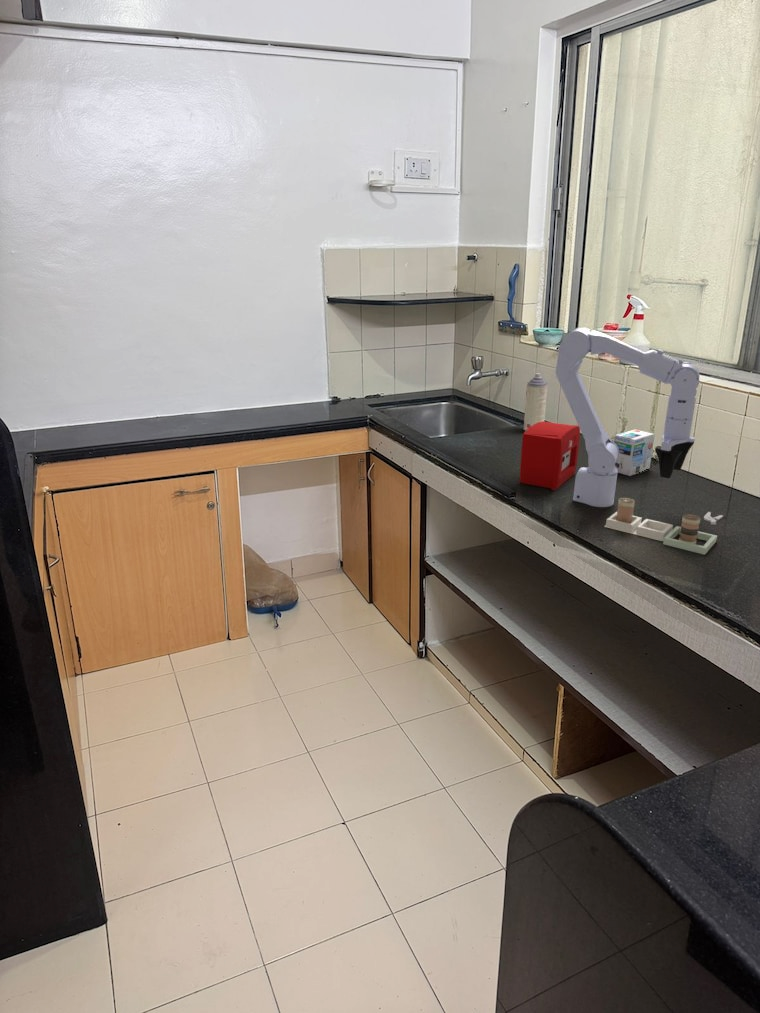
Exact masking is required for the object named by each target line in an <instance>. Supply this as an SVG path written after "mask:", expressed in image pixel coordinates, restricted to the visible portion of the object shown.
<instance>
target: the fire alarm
mask: <svg viewBox="0 0 760 1013" xmlns="http://www.w3.org/2000/svg"><path fill="white" fill-rule="evenodd" d="M523 432H524V431H523ZM523 432H522V433H523ZM580 437H581V430H580V428H579V425H578V424H574V425H572V424H566V423H565V424H563V423H559V422H557V423H556V422H551V421H549V422H548V421H544V422H538V423H536V424H534V425H532V426H531V427H530V428H528V429H527V430H526V431H525V432H524V433H523V434H522V440H521V442H522V443H521V453H520V473H519V483H521V484H525V485H532V486H537V487H542V488H549V489H551V490H553V491H556V490H558V489H559V488H560V487H561V486H562V485H563V484H564V483H566V481H568V480H569V479H570V478H571V477H573V476H574V475H575V473H576V469H577V465H578V459H579V458H578V457H579V450H580V449H579V448H580Z"/></svg>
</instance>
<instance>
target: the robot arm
mask: <svg viewBox="0 0 760 1013" xmlns="http://www.w3.org/2000/svg"><path fill="white" fill-rule="evenodd" d="M557 351H558V354H557V361H556V365H555V366H556V367H555V375H556V376H555V377H556V378H557V381H558V382H559V384H560V388H561V389H562V391H563V394H564V396H565V399H566V401H567V403H568V405H569V408H570V410H571V412H572V414H573V416H574V419H575V420H576V423H577V425H578V426H579V428H580V433H581V434H582V437H583V439H584V445H585V449H586V453H587V455H588V460H587V462H588V464H587V465H588V466H587V467H584V466H583V467H582V466H581V467H580V468H579V469H578V471H577V473H576V475H575V479H574V488H573V496H572V500H573V501H574V502H578V503H581V504H586V505H589V506H591V507H597V508H609V507H612V506H613V505H614V504H615V503H614V501H615V494H616V487H617V481H618V480H617V478H618V473H617V472H618V470H617V468H616V467H615V463H616V460H617V459H618V457H619V448H618V446H617V445H616V444H615V443H614V441H612V439H611V437H610V436H609V434H608V433H607V431H606V430H605V429H604V427H603V425H602V423H601V421H600V418H599V416H598V413H597V411H596V408H595V407H594V405H593V402H592V400H591V398H590V395H589V393H588V391H587V389H586V386H585V384H584V382H583V379H582V377H581V375H580V373H579V369H580V367H581V366H582V364H583V361H584V358H585V357H586V356H587V354H589V352H590V355H591V356H592V355H597V354H598V355H599V354H607V355H610V356H612V357H616V358H617V359H620V360H623V361H626V362H628V363H630V364H634V365H636V366H637V367H638V370H639V373H640V374H643V375H645V376H647V377H650V378H651V379H653V380H656V381H659V382H661V383H664V385H667V384H669V385H670V386H671V391H670V395H669V397H668V402H667V408H666V415H665V422H664V429H663V433H662V435H661V445H656V446H655V448H654V452H655V454H656V456H657V460H658V464H659V465H658V467H659V475H660V477H661V478H666V479H670V478H671V477H672V475H673V472H674V470H676V471H680V470H682V467H683V465H684V462H685V460H686V458H687V455H688V453H689V451H690V449H691V448H692V446H693V445H694V444H695V441H696V437H694V436H691V431H692V424H693V420H694V413H695V408H696V407H695V406H696V402H697V401H696V400H697V398H696V396H697V388H698V387H699V385H700V382H701V381H700V370H699V368H697V366H695V365H694V364H693V363H691V362H689V361H688V362H687V361H686V362H685V361H684V359H682V358H679V359H676V358H674V357H671V356H669V355H667V354H664V352H665V351H664V350H662V349H660V348H658V349H657V350H655V349H649V350H648V351H643V350H640V349H639V348H636V347H635V346H632V345H629V344H628V343H626V342H623V341H621V340H620V339H617V338H615V337H613V336H610V335H608V334H606V333H604V332H601V331H598V330H595V329H593V330H591V329H590V328H588V327H586V326H579V327H576V328H574V329H573V330H572V331H570V332H568V333H567V334H566V335H565V336H564V337H563V339H562V341H561V342H560V344H559V346H558V348H557Z"/></svg>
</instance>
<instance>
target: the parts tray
mask: <svg viewBox="0 0 760 1013" xmlns="http://www.w3.org/2000/svg"><path fill="white" fill-rule="evenodd" d="M680 530H681V526H675V527H674V528H672V531H671V532H670V533H669V534H668V535H667V536H666V537H665V538H664V540H663V541H662V542H663V543H662V545H665V546H668V547H673V548H675V549H676V548H677V549H681V550H684V551H689V552H692V553H697V554H700V555H703V556H704V555H706V554H707V553H708V552H709V550H710V549H711V548H712V547H713V546H714V545H715V543H717V538H718V535H715V534H712V533H708V532H703V531H699V530H698V534H697V539H698V540H701V541H702V540H703V541H706V542H705V543H704V544H703V545H700V544H697V543H696V544H692V543H688V542H684V541H680V540H679V539H676V537H677V536H678V535H680ZM697 539H696V540H697Z"/></svg>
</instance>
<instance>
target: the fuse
mask: <svg viewBox="0 0 760 1013" xmlns="http://www.w3.org/2000/svg"><path fill="white" fill-rule="evenodd" d="M635 502H636V500H635V499H633V498H629V497H620V498H618V503H617V510H616V512H617V518H616V520H617V521H621V522H625V523H629V524H631V523H632V517H633V516H634V509H635Z"/></svg>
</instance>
